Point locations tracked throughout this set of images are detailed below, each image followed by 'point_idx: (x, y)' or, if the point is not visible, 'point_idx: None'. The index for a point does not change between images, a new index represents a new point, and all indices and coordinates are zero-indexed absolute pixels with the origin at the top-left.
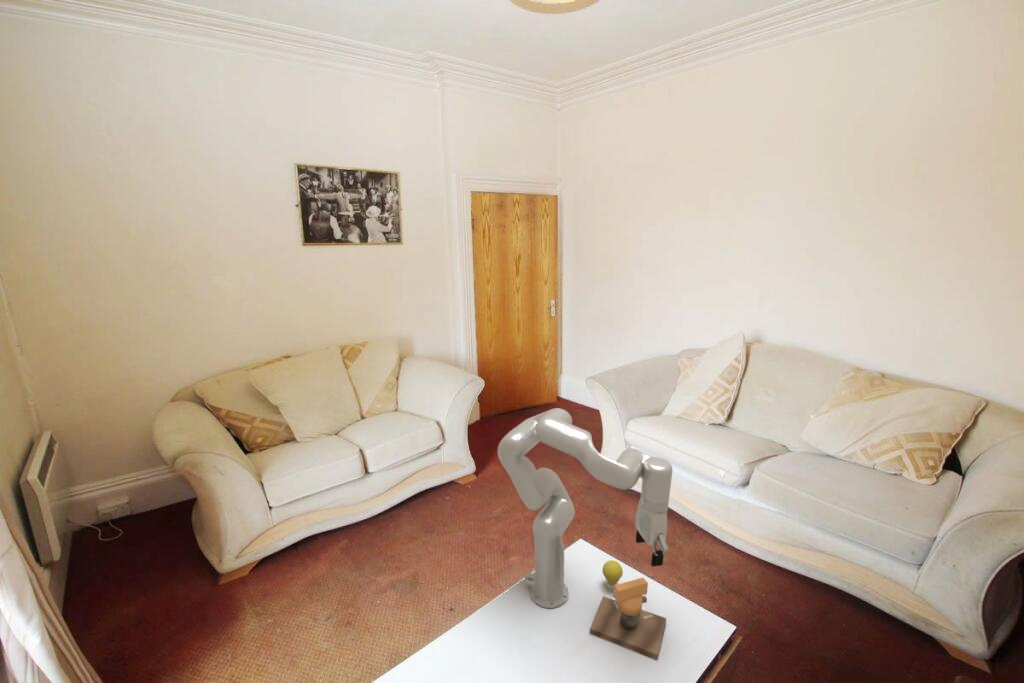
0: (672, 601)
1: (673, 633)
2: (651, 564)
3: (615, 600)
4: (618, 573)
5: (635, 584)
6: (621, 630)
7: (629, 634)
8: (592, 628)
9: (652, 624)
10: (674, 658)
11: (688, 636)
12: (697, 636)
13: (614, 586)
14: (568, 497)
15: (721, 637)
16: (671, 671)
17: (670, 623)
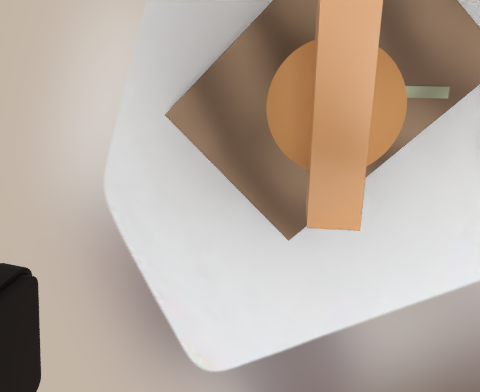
0: (361, 311)
1: (245, 228)
2: (5, 271)
3: (455, 103)
4: None
5: (326, 146)
6: (305, 39)
7: (276, 61)
8: None
9: (284, 176)
10: (162, 170)
11: (219, 264)
12: (210, 288)
13: None
14: None
15: (185, 346)
16: (125, 130)
17: (284, 245)
